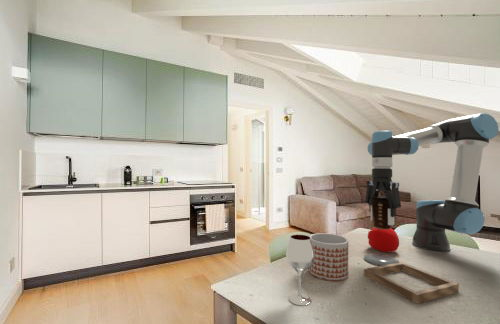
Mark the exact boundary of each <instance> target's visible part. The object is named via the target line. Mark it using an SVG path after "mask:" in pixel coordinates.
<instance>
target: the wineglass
mask: <svg viewBox="0 0 500 324" xmlns="http://www.w3.org/2000/svg"><path fill="white" fill-rule="evenodd" d="M309 236H310V235H305V234H292V235H290V237H289V240H288V245H287V248H286V253H285V258H286V261H287V263H288V264H289V266H290V267H291V268H292V269H293V270H294V271H295V272H296V273H297V275H298V293H297V292H296V293H292V294H289V296H288V301H289V302H290V303H291V304H293V305H296V306H300V307H301V306H302V307H304V306H308V305H310V304H311V302H312V299H311V297H310V296H308V294H307V295H306V294H305V293H302V275H303V274H304V273H305V272H306V271H309V268H310V267H311V266H312V265H313V263H314V260H315V255H314V250H313V246H312V242H311V238H310V237H309Z"/></svg>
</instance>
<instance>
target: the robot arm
mask: <svg viewBox="0 0 500 324" xmlns="http://www.w3.org/2000/svg"><path fill="white" fill-rule="evenodd" d="M498 134H499V124H498V121H497V120H496V119H495V117H494V116H493V115H491V114H489V113H486V112H485V113H483V112H482V113H473V114H471V115H465V116H460V117H455V118H449V119H446V120H444V121H441V122H437V123H434V124H432V125H428V126H427V127H426V128H423V129H419V130H414V131H411V132H406V133H403V134H398V135H395V136H393V132H392V131H391V130H377V131H374V132H373V133H372V135H371V141H370V142H369V143H368V145H367V151H368V153H369V155H370V156H371V167H372V169H371V176H372V180H367V181H366V193H365V200H364V201H365V204H368V206H369V207H368V209H369V210H368V211H369V213H370V221H371V222H373V215H372V207H371V202H370V200H371V199H372V197H373V196H379V194H380V192H381V191H382V192H383V193H384V195H385V196H386V198H387V200H388V202H389V207H390V208H389V209H388V225H390V226H394V225H395V217H397V209H400V208H401V207H402V204H401V196H400V191H399V190H400V189H399V188H400V183H399V182H394V181H392V178H393V156H397V155H398V156H399V155H405V156H406V155H413V154H416V153H417V151H419V147H420V146H425V145H429V144H432V145H436V144H441V143H454V144H455V145H456V147H457V150H456V158H455V164H454V168H453V176H452V183H451V187H450V195H449V197H447V198H445V199H444V200H439V199H435V200H434V199H433V200H432V199H431V200H429V199H427V200H425V199H424V200H423V199H422V200H418V201H417V202H416V207H415V210H416V211H415V214H416V217H415V220H416V221H415V222H416V227H415V228H416V229H415V232H414V234H413V237H412V239H411V240H412V245H414V246H415V247H419V248H421V249H426V250H429V251H430V250H431V251H437V252H447V251H450V250H451V245H450V242H449V239H448V237H447V233H446V230H447V231H451V232H455V233H458V234H465V235H474V234H477V233H478V232H480V231H481V230H482V228H483V227H484V224H485V222H486V221H485V220H486V218H485V215H484V212H483V211H482V210H481V209H480V205H479V204H478V202H477V201H476V196H477V195H476V194H477V190H478V189H477V188H478V183H479V177H480V169H481V164H482V159H483V158H482V157H483V150H484V148H485V147H487V146H489V143H490V140H492V139H494V138H495V137H497V135H498Z"/></svg>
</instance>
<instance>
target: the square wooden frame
mask: <svg viewBox="0 0 500 324" xmlns="http://www.w3.org/2000/svg"><path fill="white" fill-rule="evenodd" d="M398 272H405V273H407V274H409V275H412V276H415V277H416V278H419V279H422V280H424V281H425V282H428V283H430V284H432V285H436V286H432V287H430V288H429V287H427V288H425V289H421V290H414V289H411V288H409V287H407V286H405V285H403V284H401V283H399V282H397V281H395V280H393V279H391V278H388V277H387V276H384V275H387V274H388V275H389V274H392V273H398ZM363 276H364V277H365V278H367V279H369V280H371V281H373V282H375V283H377V284H379V285H380V286H383V287H384V288H387V289H388V290H390V291H392V292H394V293H396V294H397V295H400V296H401V297H403V298H405V299H408V300H410V301H411V302H414V303H416V304H421V303H426V302H429V301H433V300H435V299H439V298H443V297H446V296H450V295H453V294H458V293H459V290H460V289H459V286H460V285H459V283H456V282H454V281H452V280H449V279H446V278H444V277H441V276H439V275H436V274H434V273H431V272H428V271H425V270H423V269H421V268H417V267H415V266H412V265H410V264H407V263H405V262H402V261H401V262H400V261H399V263H394V264H388V265H383V266H378V265H376V266H373V267H368V268H367V267H366V268H364V269H363Z"/></svg>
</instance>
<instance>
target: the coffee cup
mask: <svg viewBox="0 0 500 324" xmlns="http://www.w3.org/2000/svg"><path fill="white" fill-rule="evenodd" d="M370 202H371V207H372V215H373V221H372V223H373V226H372V228H377V229H390V228H391V225H388V209H389V208H390V207H389V202H388V200H387V198H386V195H385V196H384V195H378V196H373V197H372V199H371V200H370Z"/></svg>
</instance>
